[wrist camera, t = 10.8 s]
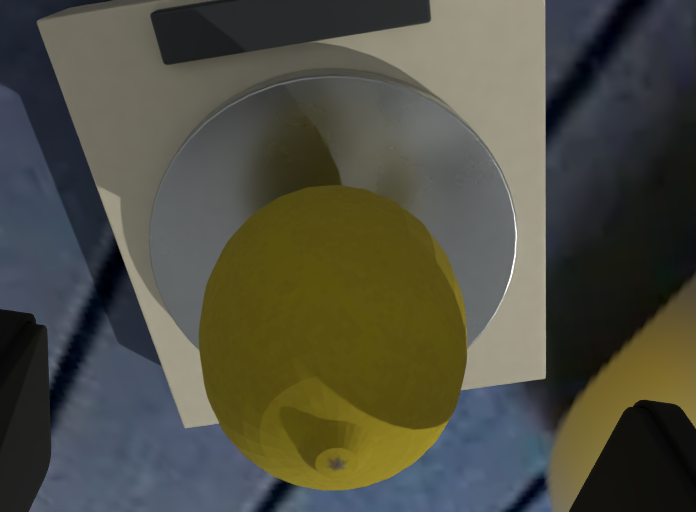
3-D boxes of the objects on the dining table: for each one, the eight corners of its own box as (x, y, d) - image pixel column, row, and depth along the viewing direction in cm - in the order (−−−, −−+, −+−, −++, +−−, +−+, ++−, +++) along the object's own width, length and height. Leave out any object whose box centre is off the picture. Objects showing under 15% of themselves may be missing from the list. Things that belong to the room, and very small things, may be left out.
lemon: (476, 213, 17) (585, 429, 10) (355, 353, 19) (373, 615, 12) (301, 94, 15) (282, 252, 8) (188, 262, 17) (97, 502, 10)
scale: (67, 7, 17) (20, 26, 14) (519, -68, 17) (557, -64, 14) (195, 385, 23) (179, 446, 21) (527, 339, 23) (554, 395, 20)
